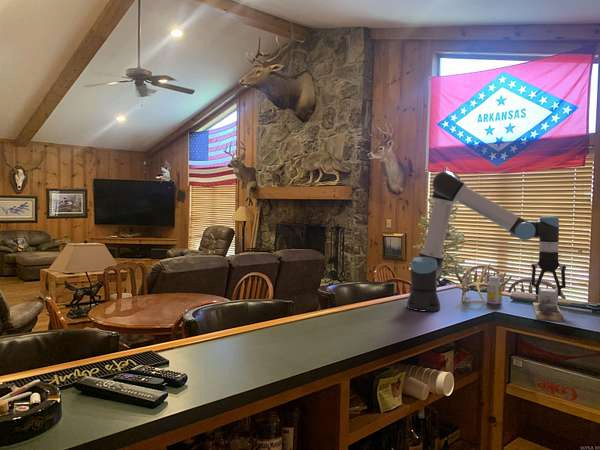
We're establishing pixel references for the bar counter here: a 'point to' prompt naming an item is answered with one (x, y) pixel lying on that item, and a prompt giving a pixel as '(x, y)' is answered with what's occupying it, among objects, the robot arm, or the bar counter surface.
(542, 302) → the coupler
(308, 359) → the bar counter surface
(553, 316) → the shaft bed
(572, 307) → the bar counter surface
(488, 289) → the supplement bottle
